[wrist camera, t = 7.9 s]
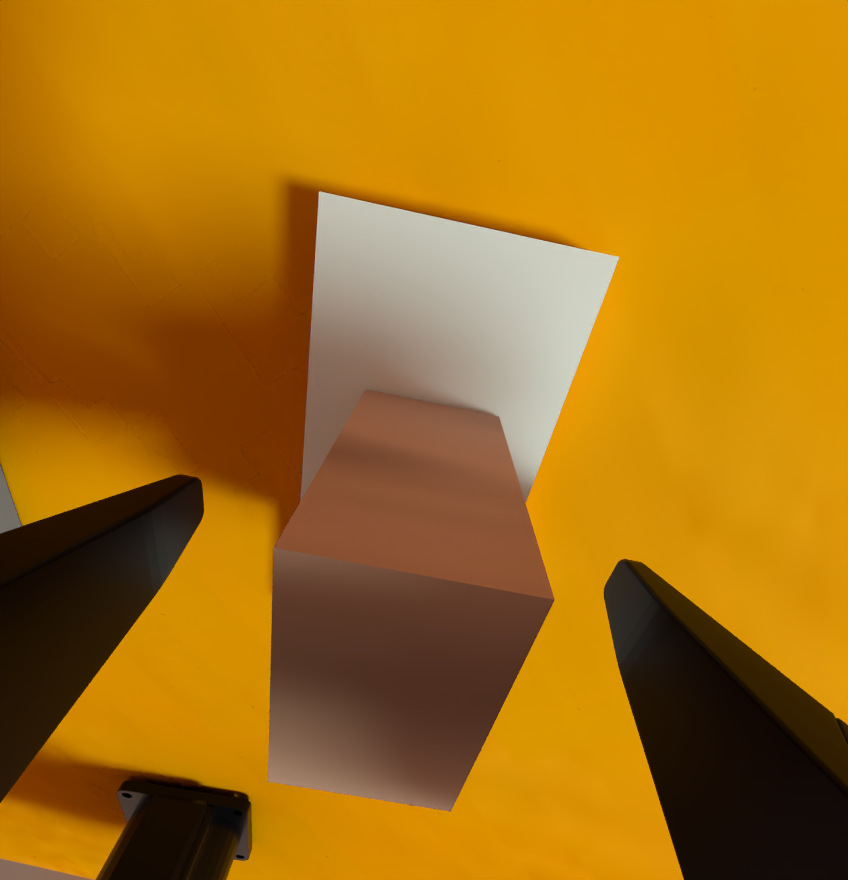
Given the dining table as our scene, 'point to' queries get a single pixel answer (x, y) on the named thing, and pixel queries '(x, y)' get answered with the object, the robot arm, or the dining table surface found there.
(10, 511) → the board
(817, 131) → the dining table surface
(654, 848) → the dining table surface
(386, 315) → the stub
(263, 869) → the dining table surface
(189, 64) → the dining table surface
